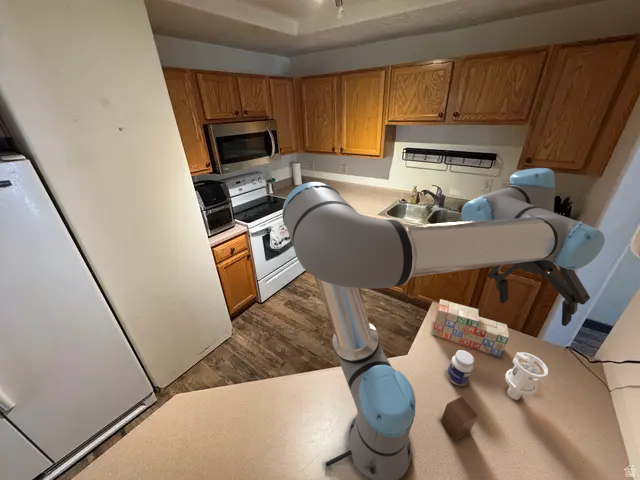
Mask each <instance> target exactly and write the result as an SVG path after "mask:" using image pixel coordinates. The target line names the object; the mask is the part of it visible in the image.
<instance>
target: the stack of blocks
mask: <svg viewBox="0 0 640 480" xmlns="http://www.w3.org/2000/svg"><path fill="white" fill-rule="evenodd" d="M432 335H434V336H436V337H439V338H441V339H444V340H448V341H450V342H453V343H456V344H460V345H462V346H465V347H469V348H472V349H475V350H479V351H481V352H484V353H487V354H489V355H492V356H496V357H499V358H500V357H501V356H502V354H503V352H504V350H505V348H506V346H507V344H508V342H509V339H510V334H509V328H508V324H506V323H503V322H499V321H496V320H493V319H490V318H489V319H488V318H484V317H483V316H480V315H479V308H475V307H471V306H467V305H463V304H459V303H455V302H452V301H449V300H445V299H442V298H440V299H439V303H438V305H437V309H436V313H435V318H434V322H433V326H432Z"/></svg>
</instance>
